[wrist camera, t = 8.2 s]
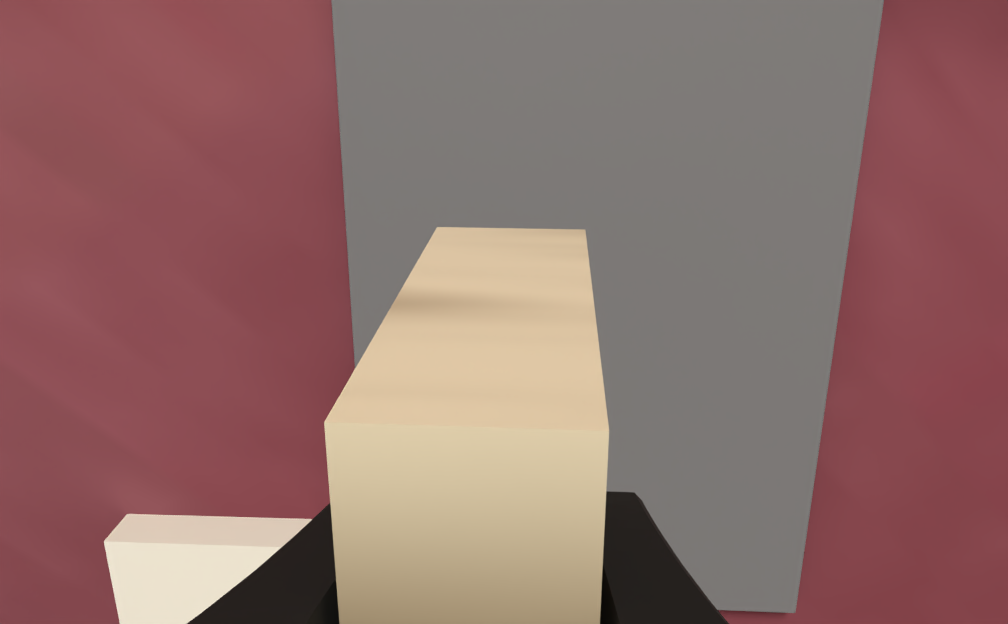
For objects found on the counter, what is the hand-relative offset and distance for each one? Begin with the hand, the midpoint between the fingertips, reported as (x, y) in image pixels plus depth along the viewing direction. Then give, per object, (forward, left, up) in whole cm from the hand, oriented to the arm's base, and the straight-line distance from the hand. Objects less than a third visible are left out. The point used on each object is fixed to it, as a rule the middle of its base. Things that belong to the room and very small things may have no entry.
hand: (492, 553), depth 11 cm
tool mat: (0, -2, -10) cm, 10 cm away
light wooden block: (0, 0, -4) cm, 4 cm away
